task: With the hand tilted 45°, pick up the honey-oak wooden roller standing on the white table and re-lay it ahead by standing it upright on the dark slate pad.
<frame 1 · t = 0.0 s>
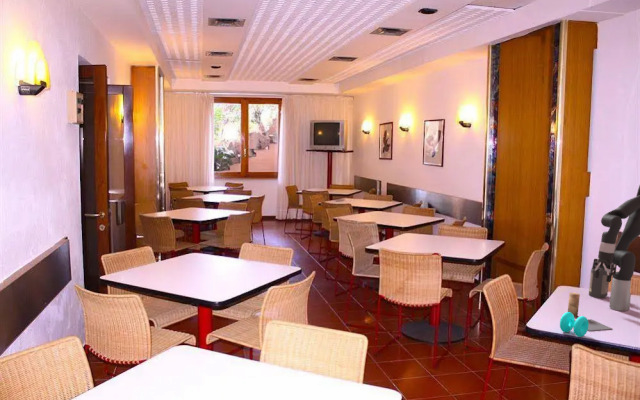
hand: (602, 279, 301), 17 cm above the table, fingers open, 8 cm apart
turquoise spool: (573, 334, 263), on the table
oak roller: (572, 315, 292), on the table
slate pad: (590, 325, 277), on the table
liquor: (597, 296, 331), on the table
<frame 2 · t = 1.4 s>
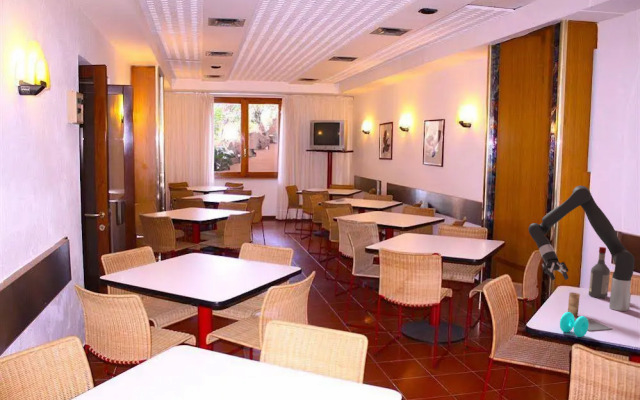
hand: (560, 279, 300), 17 cm above the table, fingers open, 8 cm apart
nothing on the table moved.
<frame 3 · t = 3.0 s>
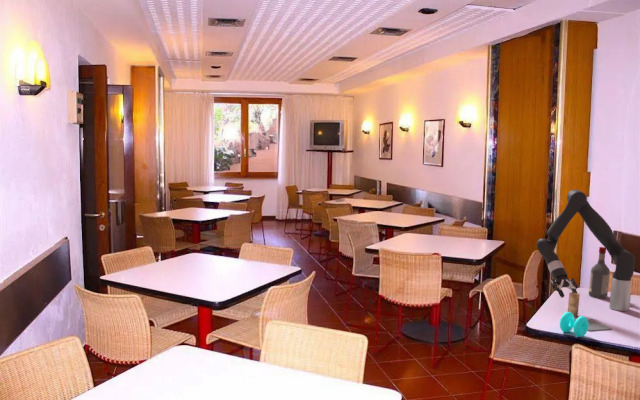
hand: (569, 296, 293), 9 cm above the table, fingers open, 8 cm apart
nothing on the table moved.
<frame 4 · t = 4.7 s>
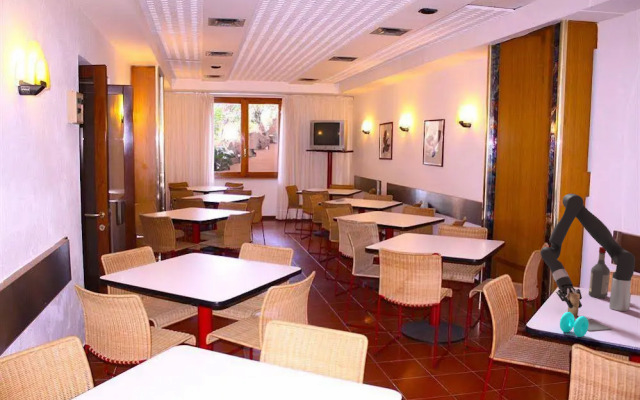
hand: (575, 307, 289), 5 cm above the table, fingers closed on oak roller, 5 cm apart
oak roller: (572, 315, 292), on the table, touching gripper
everything else where it was.
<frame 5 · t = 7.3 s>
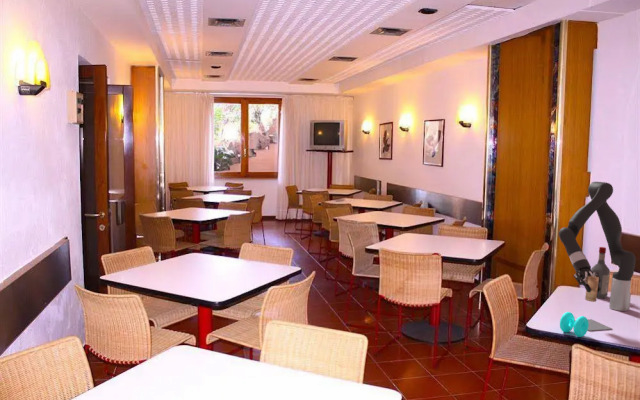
hand: (594, 291, 274), 18 cm above the table, fingers closed on oak roller, 5 cm apart
oak roller: (590, 300, 276), point 13 cm above the table, touching gripper
everything else where it was.
when the fingers open (7 cm above the table, at t = 9.9 s): oak roller drops 1 cm, resting on slate pad.
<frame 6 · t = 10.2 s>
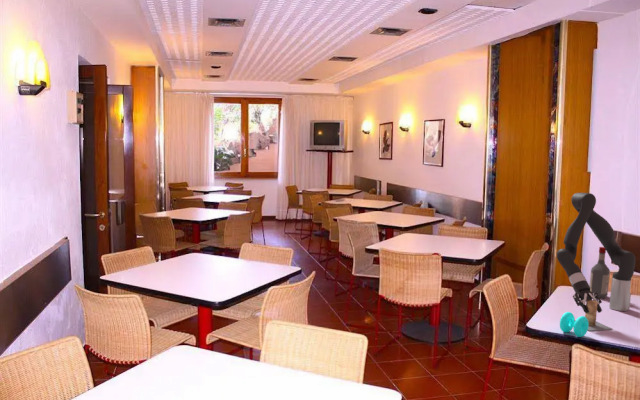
hand: (593, 312, 274), 7 cm above the table, fingers open, 7 cm apart
oak roller: (589, 324, 277), point 1 cm above the table, touching slate pad
everything else where it was.
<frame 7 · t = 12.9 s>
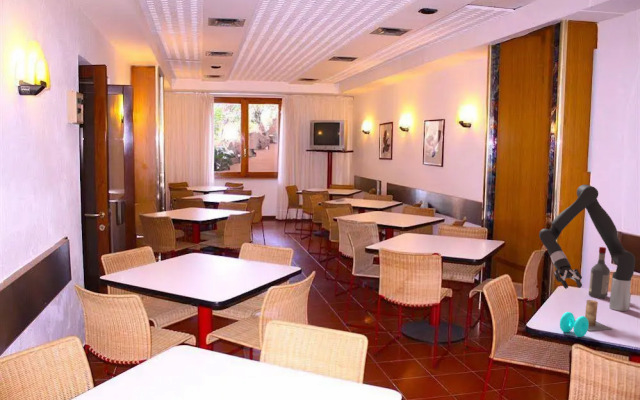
hand: (573, 287, 288), 16 cm above the table, fingers open, 8 cm apart
nothing on the table moved.
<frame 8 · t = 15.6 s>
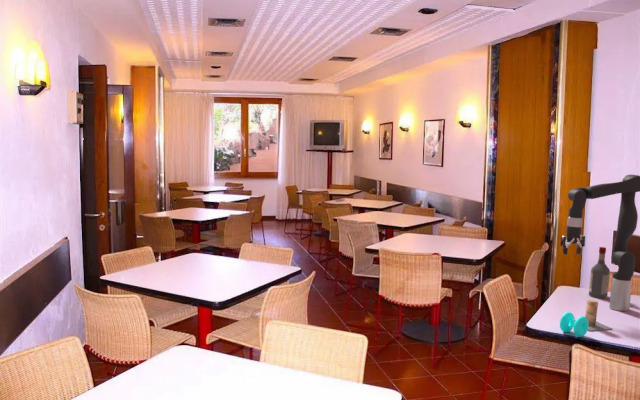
hand: (571, 254, 303), 30 cm above the table, fingers open, 8 cm apart
nothing on the table moved.
at the end: oak roller inside the target area (0.1 cm from its centre), point 0.5 cm above the table; oak roller tilted 1°; the gripper is holding nothing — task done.
